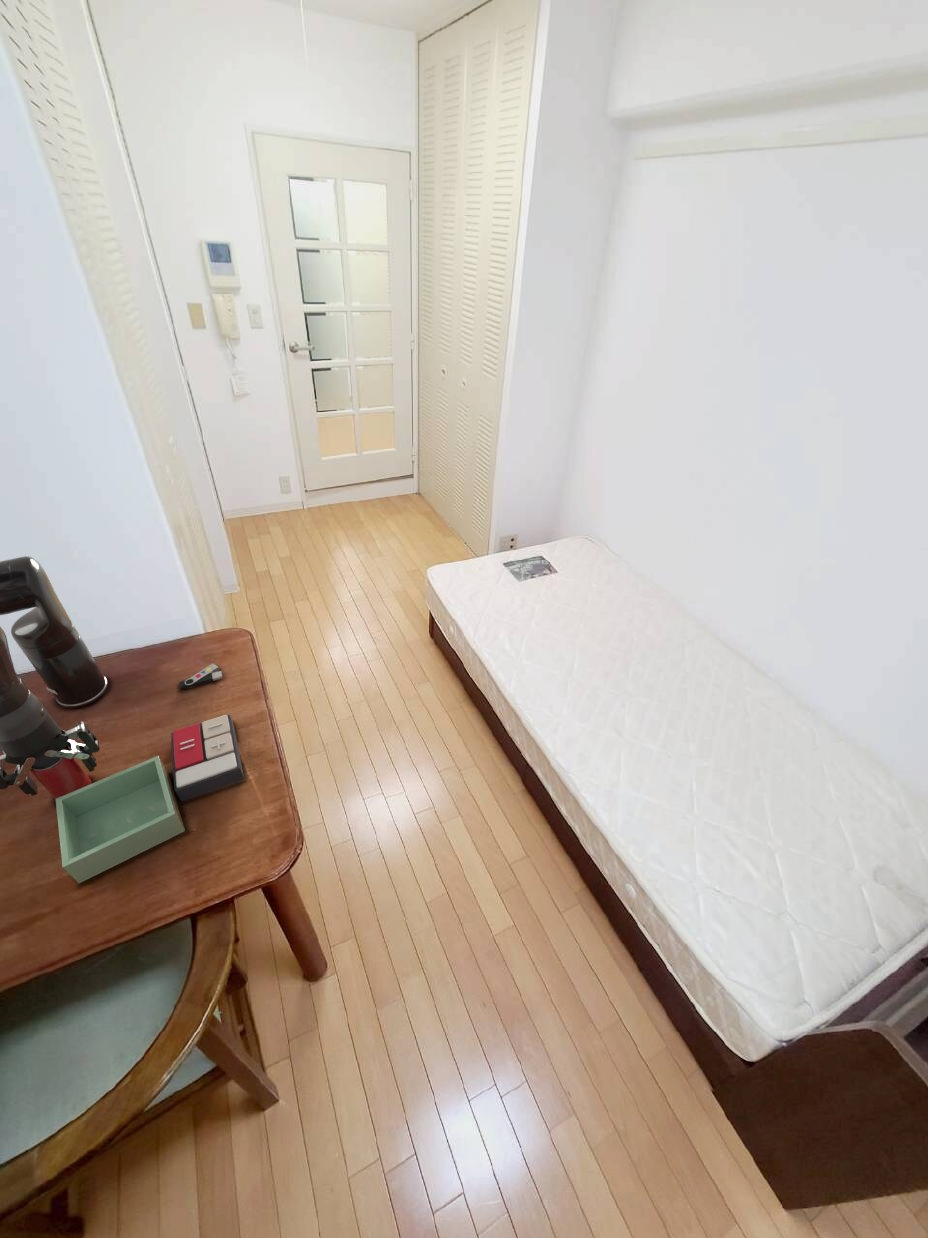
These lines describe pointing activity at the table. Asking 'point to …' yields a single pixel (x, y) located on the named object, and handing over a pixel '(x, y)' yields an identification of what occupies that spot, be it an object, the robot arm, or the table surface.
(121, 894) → the table surface
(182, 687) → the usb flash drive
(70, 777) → the can
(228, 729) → the calculator
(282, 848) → the table surface
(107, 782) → the open box
